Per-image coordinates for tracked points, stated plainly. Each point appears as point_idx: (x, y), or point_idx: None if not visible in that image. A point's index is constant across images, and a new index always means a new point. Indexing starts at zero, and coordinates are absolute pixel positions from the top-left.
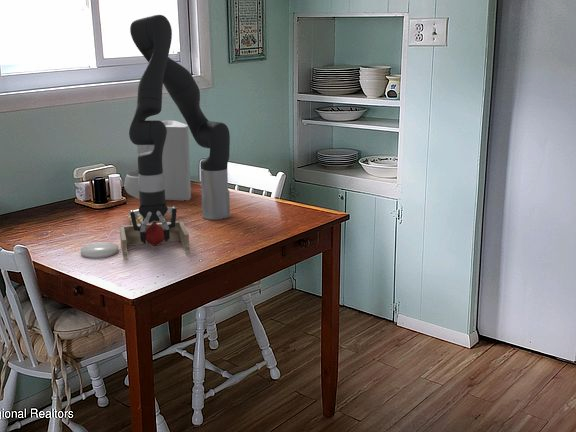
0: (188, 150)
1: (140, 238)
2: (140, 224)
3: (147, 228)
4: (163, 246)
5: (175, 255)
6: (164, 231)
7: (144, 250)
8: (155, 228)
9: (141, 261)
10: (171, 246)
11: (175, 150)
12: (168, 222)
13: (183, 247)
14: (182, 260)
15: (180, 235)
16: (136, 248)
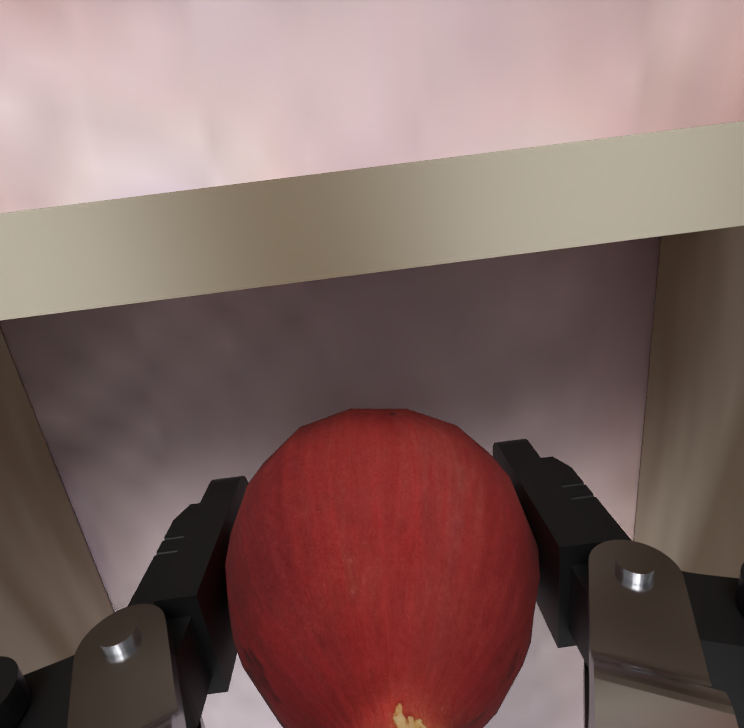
0: None
1: (172, 539)
2: (9, 223)
3: (253, 663)
4: (452, 376)
5: (540, 613)
6: (543, 576)
7: (254, 470)
8: None
9: (261, 702)
10: (536, 388)
11: None
12: (737, 159)
13: (650, 501)
14: (576, 704)
15: (728, 316)
16: (155, 401)
